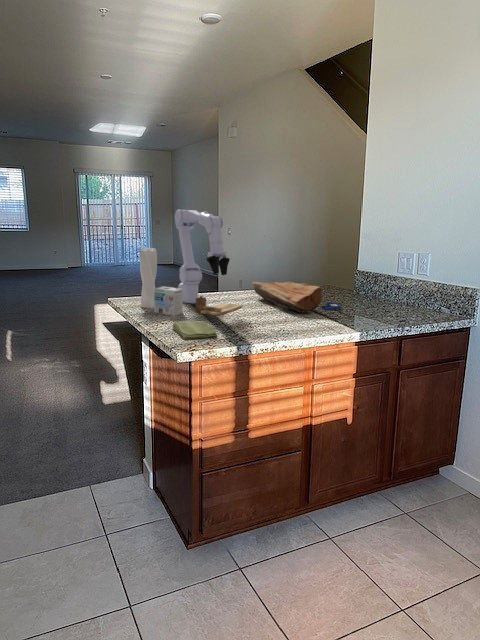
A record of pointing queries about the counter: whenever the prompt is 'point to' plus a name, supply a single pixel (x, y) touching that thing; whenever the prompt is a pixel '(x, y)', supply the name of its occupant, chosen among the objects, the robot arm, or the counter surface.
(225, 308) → the board
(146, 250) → the skyscraper
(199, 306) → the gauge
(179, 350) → the counter surface
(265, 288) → the log
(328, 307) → the bar clamp
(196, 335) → the washcloth
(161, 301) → the light bulb box
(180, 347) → the counter surface
